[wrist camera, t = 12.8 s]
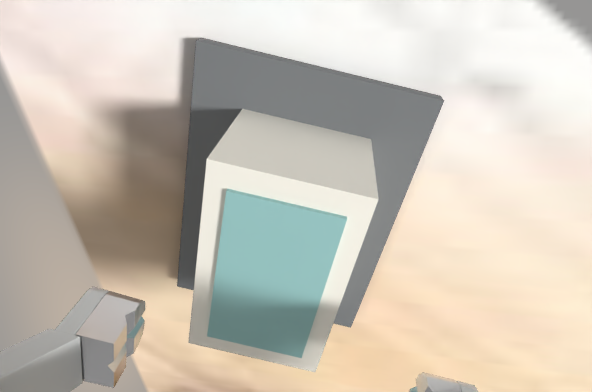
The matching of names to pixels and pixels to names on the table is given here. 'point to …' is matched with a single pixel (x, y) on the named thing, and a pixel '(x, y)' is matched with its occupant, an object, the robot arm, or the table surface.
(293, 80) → the card mat
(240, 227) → the card deck
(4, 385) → the robot arm
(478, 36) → the table surface
